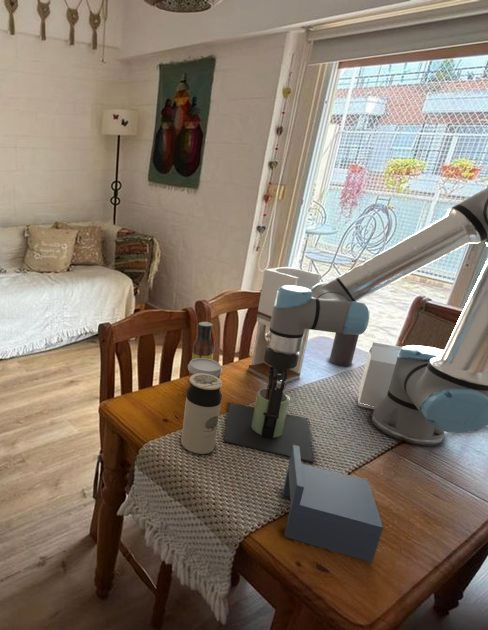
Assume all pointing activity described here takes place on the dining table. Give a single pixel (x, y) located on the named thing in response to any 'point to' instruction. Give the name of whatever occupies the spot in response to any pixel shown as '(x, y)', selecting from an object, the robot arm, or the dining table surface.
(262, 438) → the mat
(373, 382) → the milk carton
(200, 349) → the sauce bottle
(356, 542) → the blue l-shaped block
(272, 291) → the white dispenser tower
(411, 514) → the dining table surface
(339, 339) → the vinegar
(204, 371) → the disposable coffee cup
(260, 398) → the cup
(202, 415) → the travel mug
